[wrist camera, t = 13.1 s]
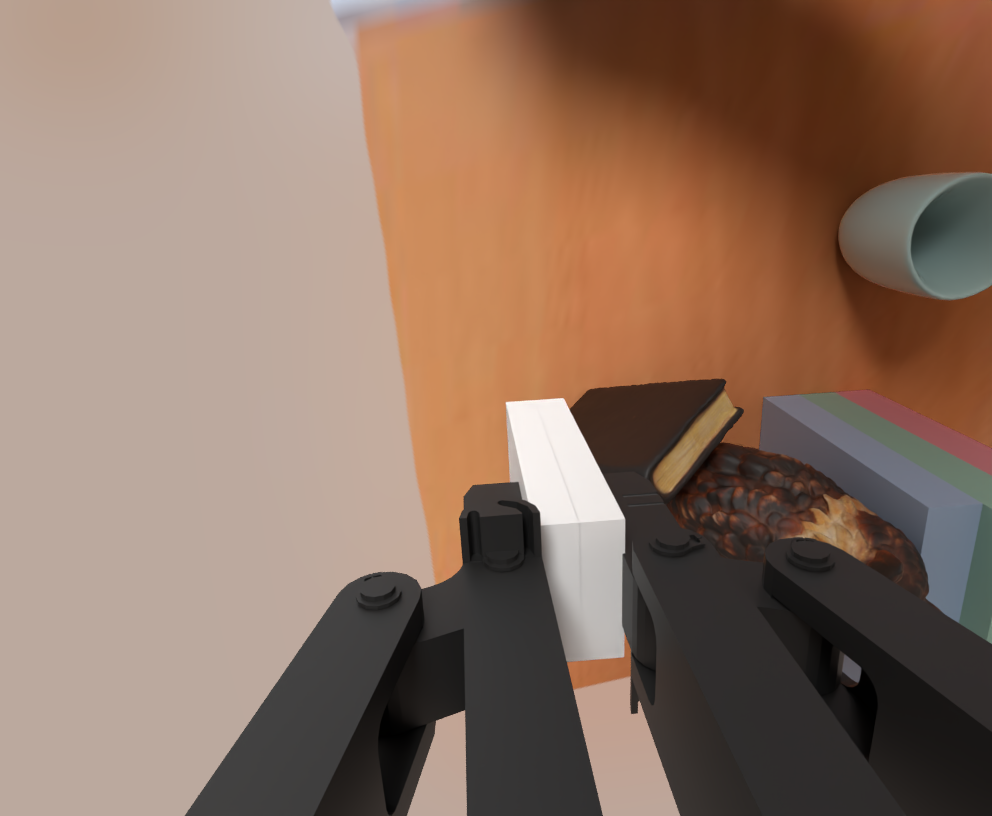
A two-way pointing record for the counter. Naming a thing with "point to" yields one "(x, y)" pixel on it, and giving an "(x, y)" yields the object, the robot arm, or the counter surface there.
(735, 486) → the bookend
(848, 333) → the counter surface
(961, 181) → the cup
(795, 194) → the counter surface
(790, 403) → the book row
